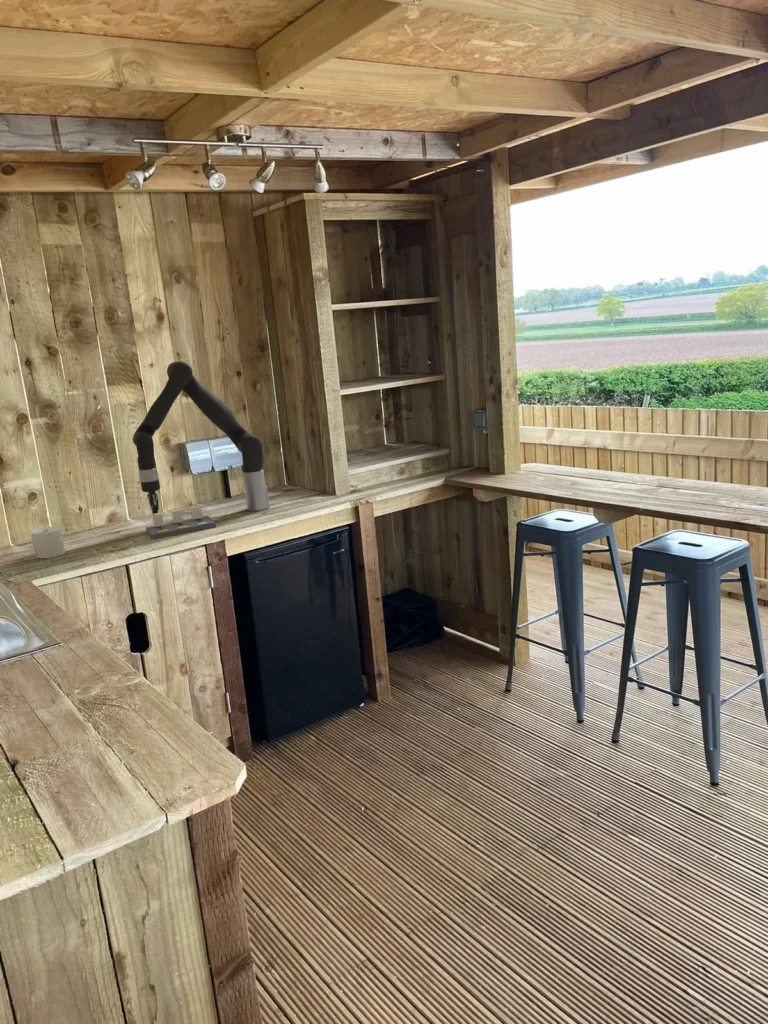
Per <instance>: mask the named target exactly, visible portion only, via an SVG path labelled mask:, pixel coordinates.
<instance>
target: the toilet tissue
mask: <svg viewBox="0 0 768 1024" xmlns="http://www.w3.org/2000/svg"><path fill="white" fill-rule="evenodd" d="M30 536H31V540H32V541H31V542H32V546H33V549H34V554H35V558H36V559H38V558H40V559H39V560H46V559H45V558H47V559H53V558H57V557H60V556H61V555H63V554H65V553H66V549H65V545H64V544H65V543H64V541H63V535H62V531H61V527H60V526H47V527H46V525H44V526H41V527H38V528H36V529H34V530H33V531H31V532H30ZM52 557H53V558H52ZM41 558H42V559H41ZM43 558H44V559H43Z"/></svg>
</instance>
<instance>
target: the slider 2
mask: <svg viewBox="0 0 768 1024" xmlns="http://www.w3.org/2000/svg"><path fill="white" fill-rule="evenodd" d="M190 512H191V518H193V519H194V520H195V519H200V518H202V516H203V514H202V508H201V506H200V505H199V504H198V505H193V506H190Z"/></svg>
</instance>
